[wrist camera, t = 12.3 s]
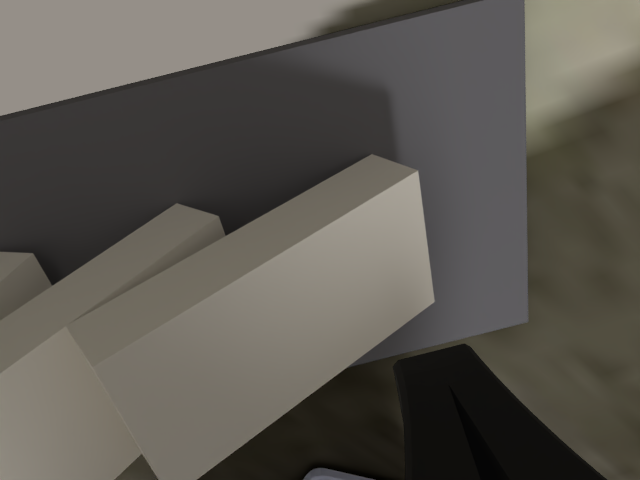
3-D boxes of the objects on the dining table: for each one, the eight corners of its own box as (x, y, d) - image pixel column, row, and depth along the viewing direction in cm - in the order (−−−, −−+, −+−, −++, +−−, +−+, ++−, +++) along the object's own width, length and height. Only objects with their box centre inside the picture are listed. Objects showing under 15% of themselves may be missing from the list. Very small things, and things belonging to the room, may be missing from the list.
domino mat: (-269, 513, 19) (-278, 525, 19) (-600, 266, 13) (-621, 276, 13) (522, 313, 19) (527, 322, 19) (516, -13, 13) (523, -11, 13)
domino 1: (223, 321, 17) (-50, 558, 12) (176, 203, 15) (-176, 437, 10) (262, 339, 16) (-18, 603, 11) (218, 216, 14) (-151, 482, 9)
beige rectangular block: (393, 278, 17) (141, 453, 14) (371, 154, 15) (65, 326, 11) (434, 301, 16) (170, 499, 12) (418, 170, 14) (92, 366, 10)
